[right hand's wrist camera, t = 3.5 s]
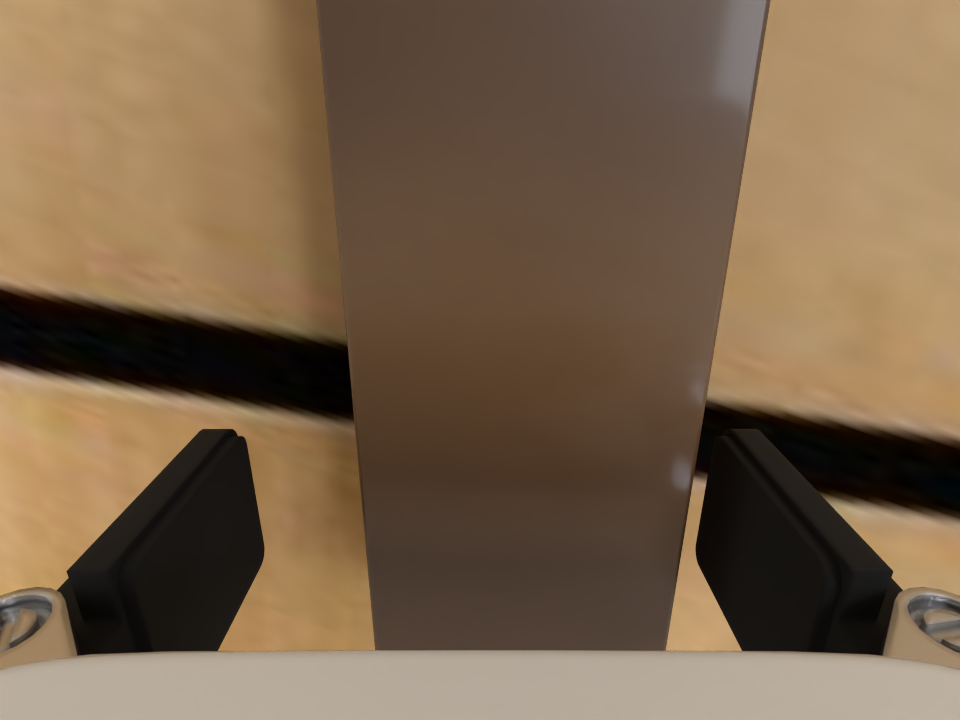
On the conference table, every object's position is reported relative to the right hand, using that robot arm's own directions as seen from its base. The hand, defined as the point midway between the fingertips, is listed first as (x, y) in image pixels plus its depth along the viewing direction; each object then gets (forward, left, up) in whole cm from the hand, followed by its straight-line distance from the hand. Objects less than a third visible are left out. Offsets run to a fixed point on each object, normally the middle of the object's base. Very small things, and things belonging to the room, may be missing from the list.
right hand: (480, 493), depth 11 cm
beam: (+33, -8, -5) cm, 34 cm away
